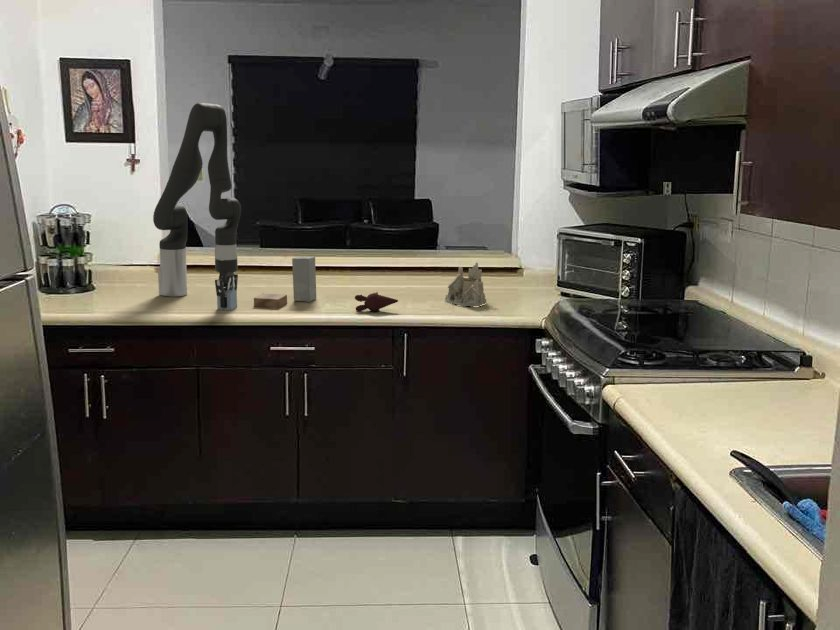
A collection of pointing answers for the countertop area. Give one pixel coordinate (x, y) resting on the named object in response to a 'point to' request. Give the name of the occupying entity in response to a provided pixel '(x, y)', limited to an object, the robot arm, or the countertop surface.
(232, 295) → the blue block
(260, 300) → the walnut base
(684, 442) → the countertop surface
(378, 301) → the icecream
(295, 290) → the skincare box
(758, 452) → the countertop surface
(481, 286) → the ceramic cottage
